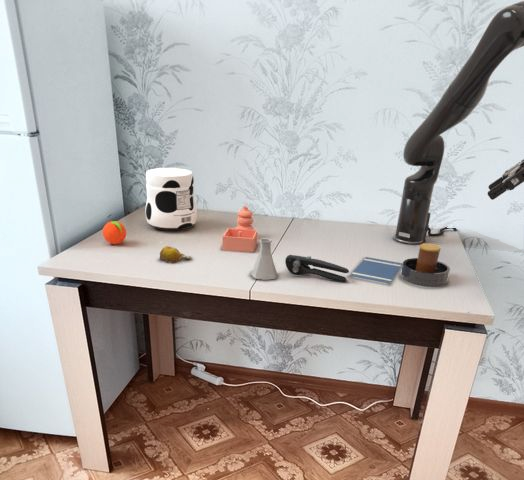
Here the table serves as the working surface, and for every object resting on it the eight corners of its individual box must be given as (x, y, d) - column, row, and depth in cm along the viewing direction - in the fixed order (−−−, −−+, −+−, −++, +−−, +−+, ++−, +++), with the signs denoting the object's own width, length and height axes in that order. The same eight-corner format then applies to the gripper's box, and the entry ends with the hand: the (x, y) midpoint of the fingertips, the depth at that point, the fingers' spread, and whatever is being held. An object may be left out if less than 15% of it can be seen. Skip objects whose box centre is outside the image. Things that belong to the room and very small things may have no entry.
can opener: (280, 276, 137) (281, 256, 134) (288, 267, 143) (289, 248, 140) (344, 287, 132) (347, 266, 129) (350, 278, 138) (352, 258, 135)
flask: (250, 270, 139) (251, 235, 134) (276, 270, 140) (277, 235, 135) (251, 280, 133) (252, 243, 128) (278, 280, 134) (281, 244, 129)
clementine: (133, 245, 154) (131, 222, 151) (113, 249, 150) (110, 226, 146) (119, 238, 159) (117, 216, 156) (99, 243, 155) (96, 220, 151)
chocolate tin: (425, 273, 142) (431, 242, 137) (437, 280, 138) (445, 248, 133) (409, 275, 140) (415, 244, 135) (422, 282, 136) (428, 250, 131)
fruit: (193, 259, 146) (193, 246, 144) (171, 265, 140) (170, 253, 138) (175, 252, 150) (174, 240, 149) (153, 258, 145) (152, 246, 143)
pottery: (253, 252, 153) (254, 220, 148) (222, 249, 154) (222, 217, 149) (260, 235, 169) (261, 205, 164) (232, 233, 169) (232, 203, 165)
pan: (426, 269, 146) (429, 256, 144) (456, 285, 136) (459, 271, 134) (391, 274, 142) (393, 260, 140) (419, 290, 132) (422, 276, 130)
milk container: (155, 218, 182) (152, 165, 173) (202, 221, 180) (201, 169, 171) (139, 231, 167) (134, 175, 158) (189, 235, 165) (188, 178, 156)
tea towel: (366, 258, 153) (366, 256, 152) (402, 264, 149) (402, 263, 148) (349, 277, 138) (349, 275, 138) (389, 284, 134) (389, 283, 134)
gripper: (545, 131, 119) (481, 176, 128) (549, 136, 108) (479, 185, 117) (562, 156, 120) (498, 199, 129) (569, 165, 109) (498, 211, 118)
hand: (489, 193), depth 123 cm, fingers open, 8 cm apart
